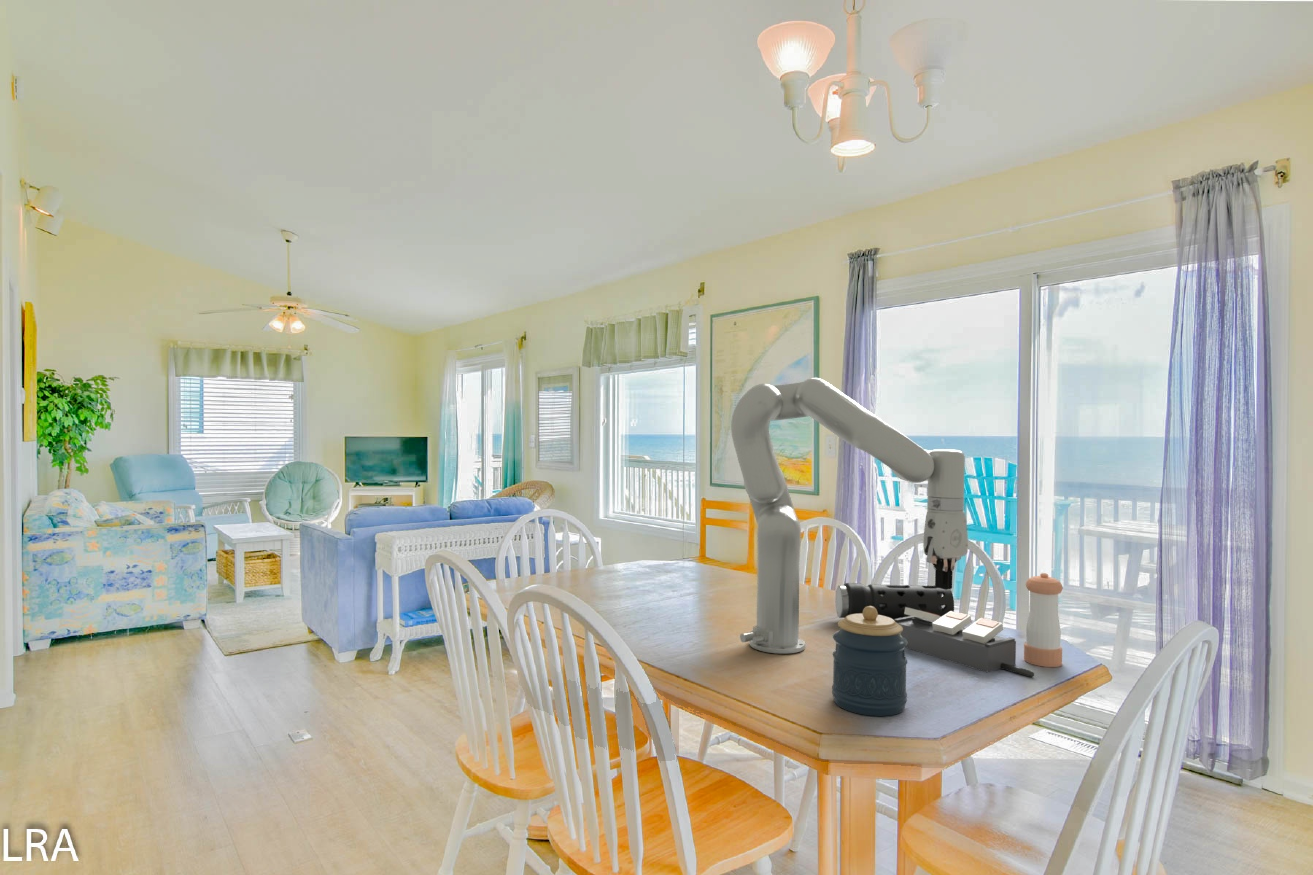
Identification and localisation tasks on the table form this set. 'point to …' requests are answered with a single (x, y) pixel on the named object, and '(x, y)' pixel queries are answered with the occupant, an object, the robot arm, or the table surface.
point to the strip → (960, 647)
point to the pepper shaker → (1043, 622)
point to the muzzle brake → (892, 599)
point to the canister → (869, 664)
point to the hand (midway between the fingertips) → (943, 587)
